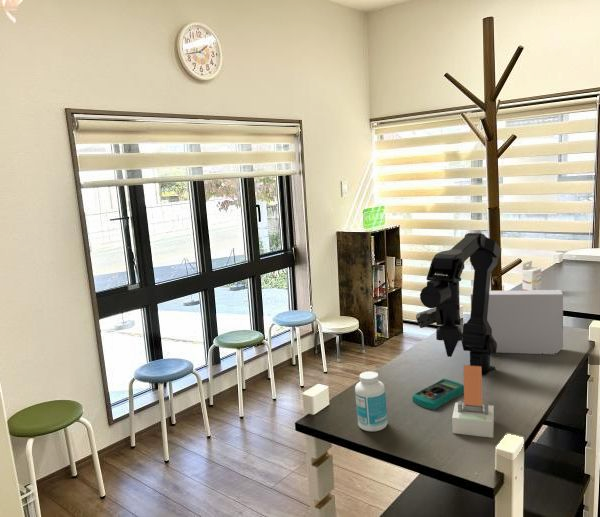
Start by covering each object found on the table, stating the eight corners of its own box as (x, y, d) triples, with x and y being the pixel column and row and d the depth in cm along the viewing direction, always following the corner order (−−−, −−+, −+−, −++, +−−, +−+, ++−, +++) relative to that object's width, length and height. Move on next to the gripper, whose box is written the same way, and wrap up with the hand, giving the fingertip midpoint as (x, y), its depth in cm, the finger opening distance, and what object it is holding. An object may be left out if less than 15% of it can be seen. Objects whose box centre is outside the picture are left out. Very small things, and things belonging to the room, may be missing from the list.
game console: (472, 345, 174) (470, 290, 170) (560, 348, 164) (560, 289, 161) (472, 352, 168) (470, 294, 165) (563, 355, 159) (563, 294, 156)
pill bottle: (389, 419, 129) (386, 369, 127) (385, 434, 122) (381, 381, 120) (361, 417, 131) (357, 368, 129) (355, 431, 125) (351, 380, 122)
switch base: (455, 417, 127) (455, 394, 126) (494, 420, 124) (493, 398, 122) (452, 433, 120) (451, 409, 119) (493, 437, 116) (492, 413, 115)
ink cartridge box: (533, 296, 225) (532, 264, 222) (522, 295, 229) (521, 263, 226) (541, 292, 230) (541, 261, 228) (531, 291, 234) (530, 260, 232)
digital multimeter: (410, 403, 137) (410, 393, 137) (444, 386, 146) (443, 376, 145) (432, 412, 131) (432, 402, 131) (466, 393, 140) (465, 383, 140)
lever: (463, 409, 122) (463, 364, 123) (483, 411, 121) (482, 366, 121) (463, 411, 121) (462, 365, 122) (482, 413, 119) (482, 367, 120)
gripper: (419, 292, 146) (420, 344, 148) (415, 308, 128) (417, 367, 130) (459, 292, 142) (460, 345, 145) (461, 308, 125) (462, 369, 127)
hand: (449, 356), depth 137 cm, fingers closed
